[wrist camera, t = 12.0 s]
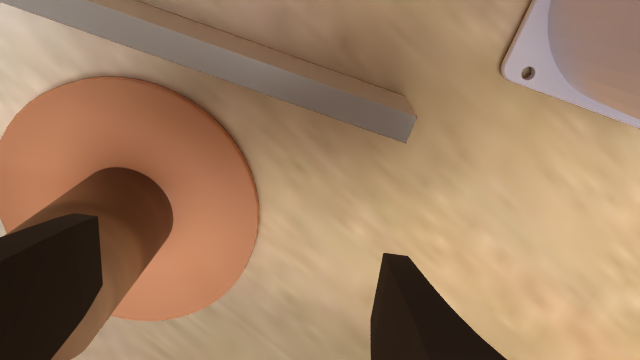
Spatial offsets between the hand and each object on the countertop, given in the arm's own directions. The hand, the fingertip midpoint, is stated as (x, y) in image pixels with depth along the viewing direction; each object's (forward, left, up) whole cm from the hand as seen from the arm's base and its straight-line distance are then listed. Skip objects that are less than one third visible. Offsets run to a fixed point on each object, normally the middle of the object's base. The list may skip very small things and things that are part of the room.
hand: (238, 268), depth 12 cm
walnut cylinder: (+6, +5, -9) cm, 12 cm away
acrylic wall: (+6, -4, -9) cm, 12 cm away
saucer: (+6, +5, -9) cm, 12 cm away
